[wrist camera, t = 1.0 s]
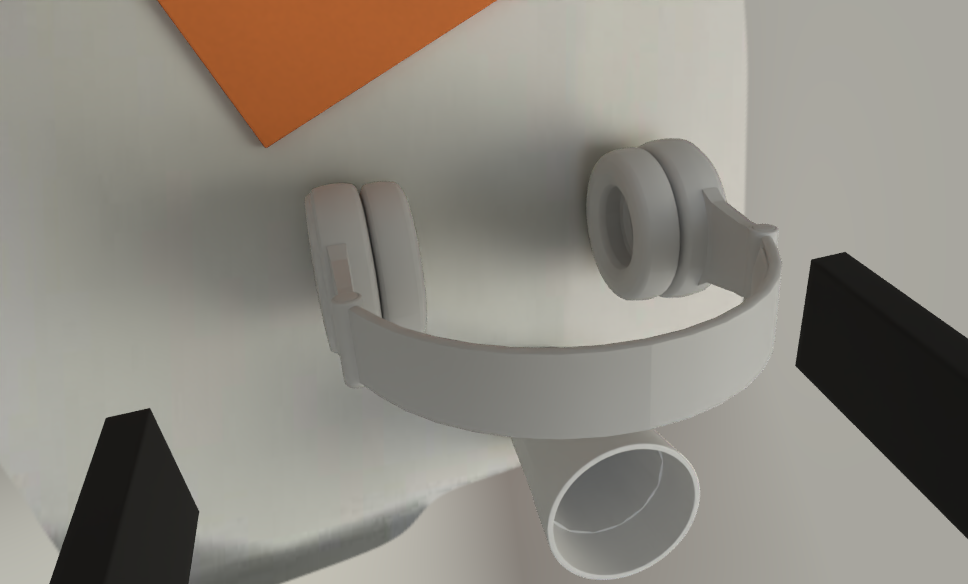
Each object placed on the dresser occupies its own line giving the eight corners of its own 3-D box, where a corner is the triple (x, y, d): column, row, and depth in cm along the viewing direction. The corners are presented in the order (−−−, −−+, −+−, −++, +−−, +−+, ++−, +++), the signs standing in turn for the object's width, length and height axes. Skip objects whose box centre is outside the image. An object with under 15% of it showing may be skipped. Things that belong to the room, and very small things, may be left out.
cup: (495, 332, 43) (565, 444, 32) (615, 337, 45) (718, 443, 34) (474, 446, 46) (533, 585, 35) (589, 446, 48) (677, 575, 37)
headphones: (658, 123, 41) (935, 217, 23) (655, 262, 44) (896, 434, 27) (298, 170, 37) (311, 325, 19) (325, 318, 40) (356, 564, 23)
